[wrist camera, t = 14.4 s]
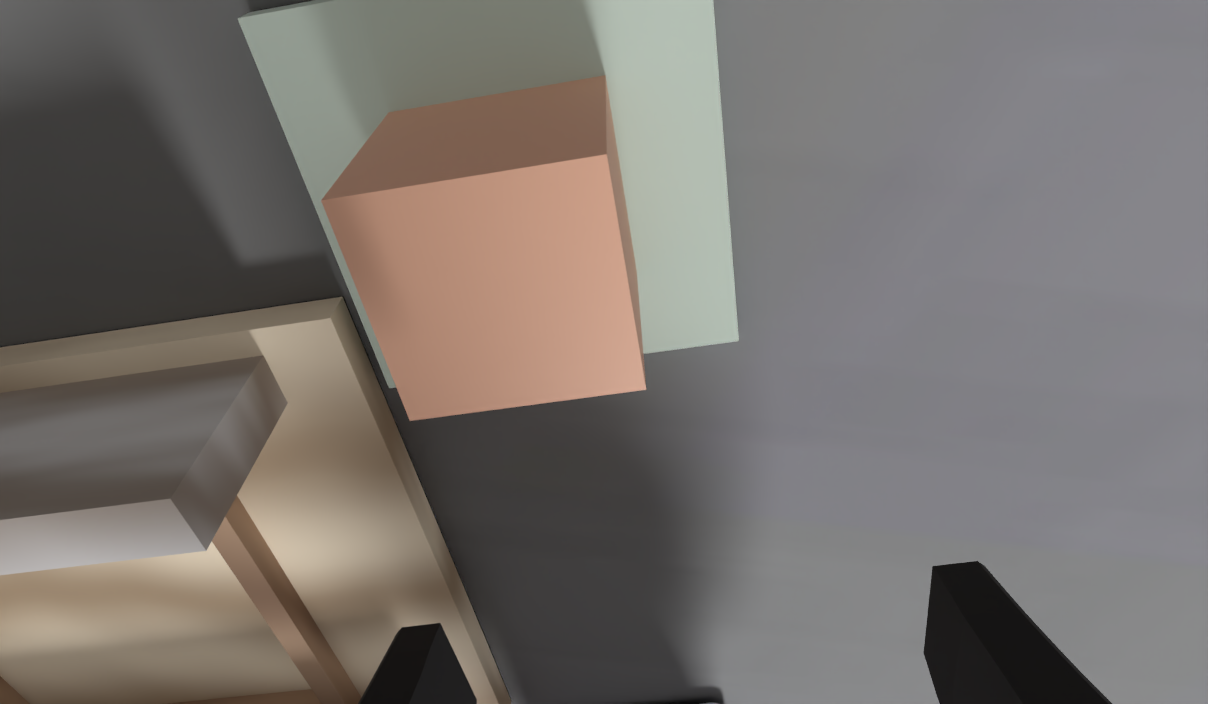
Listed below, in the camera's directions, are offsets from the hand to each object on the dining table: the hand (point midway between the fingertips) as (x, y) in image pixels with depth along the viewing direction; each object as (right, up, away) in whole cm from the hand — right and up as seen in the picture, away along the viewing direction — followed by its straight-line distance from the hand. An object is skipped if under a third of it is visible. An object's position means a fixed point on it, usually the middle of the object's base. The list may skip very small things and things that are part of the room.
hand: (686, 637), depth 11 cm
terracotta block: (-3, +8, +5) cm, 10 cm away
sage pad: (-3, +8, +6) cm, 10 cm away
